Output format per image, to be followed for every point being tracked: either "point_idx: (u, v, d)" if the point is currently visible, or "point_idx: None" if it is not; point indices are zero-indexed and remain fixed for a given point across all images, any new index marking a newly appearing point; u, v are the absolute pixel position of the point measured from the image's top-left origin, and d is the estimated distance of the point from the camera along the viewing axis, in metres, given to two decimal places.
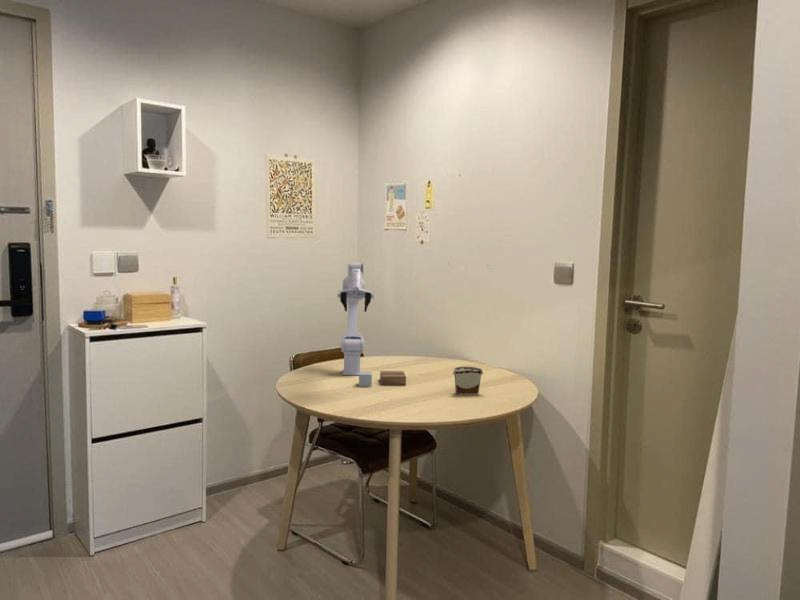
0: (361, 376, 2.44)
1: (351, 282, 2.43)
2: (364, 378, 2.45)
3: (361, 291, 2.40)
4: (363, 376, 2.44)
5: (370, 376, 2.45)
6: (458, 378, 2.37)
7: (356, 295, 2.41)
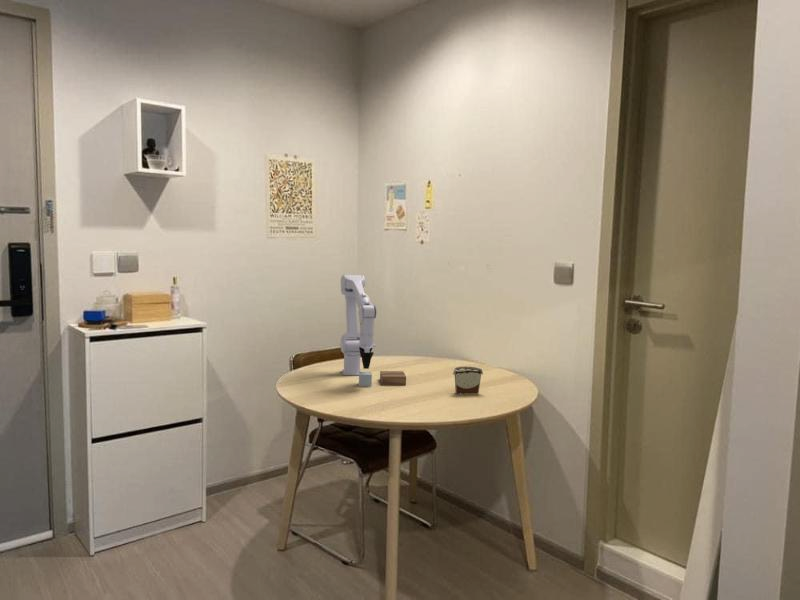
0: (361, 376, 2.44)
1: (372, 336, 2.44)
2: (364, 378, 2.45)
3: None
4: (363, 376, 2.45)
5: (370, 376, 2.45)
6: (458, 378, 2.37)
7: None
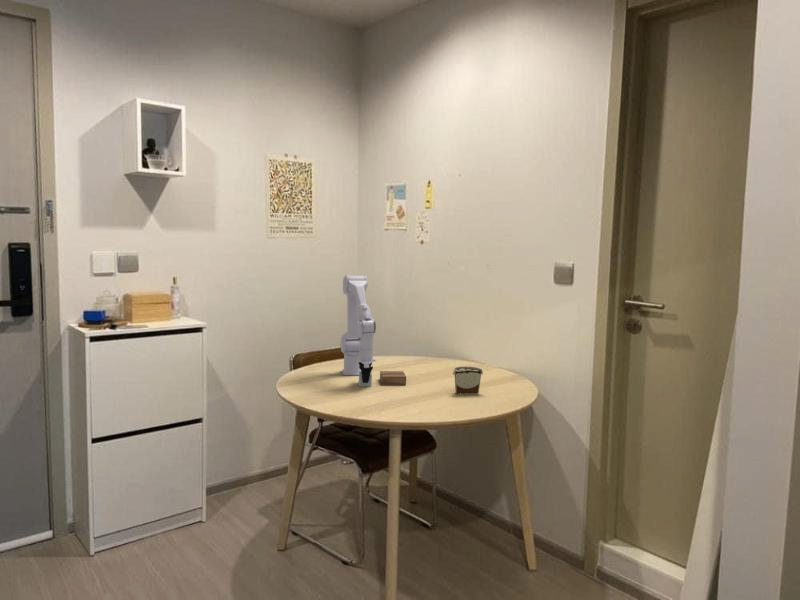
0: (361, 376, 2.44)
1: (371, 351, 2.44)
2: None
3: None
4: None
5: (370, 376, 2.45)
6: (458, 378, 2.37)
7: None
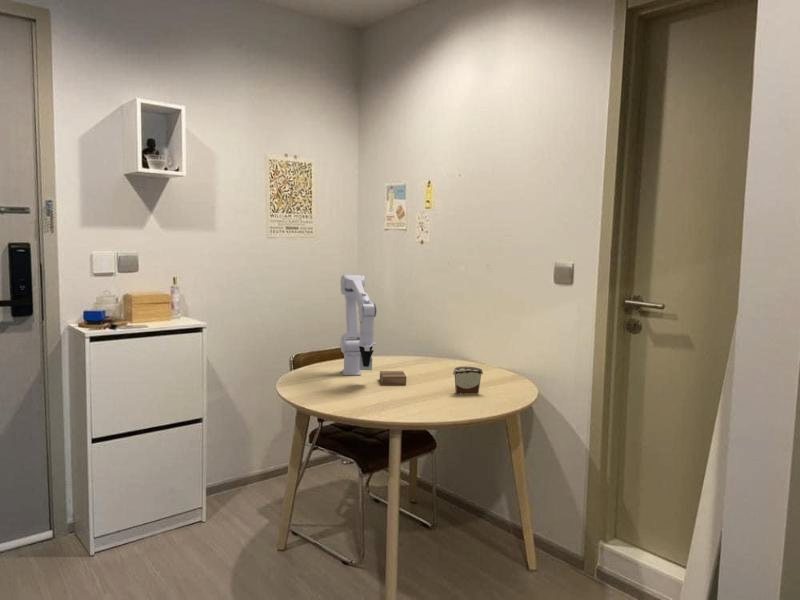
0: (361, 359, 2.44)
1: (372, 334, 2.44)
2: None
3: None
4: None
5: (371, 360, 2.44)
6: (458, 378, 2.37)
7: None
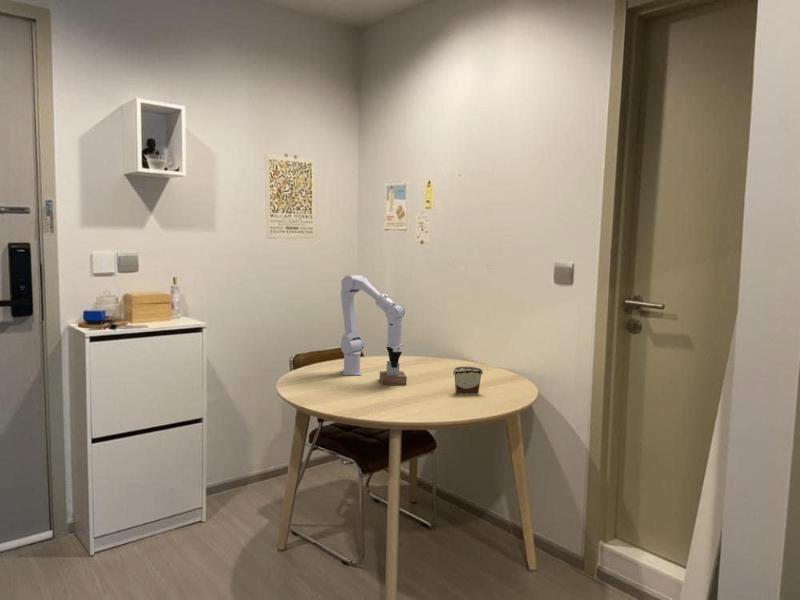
0: (389, 365, 2.50)
1: (400, 336, 2.50)
2: None
3: None
4: None
5: (398, 365, 2.50)
6: (458, 378, 2.37)
7: None
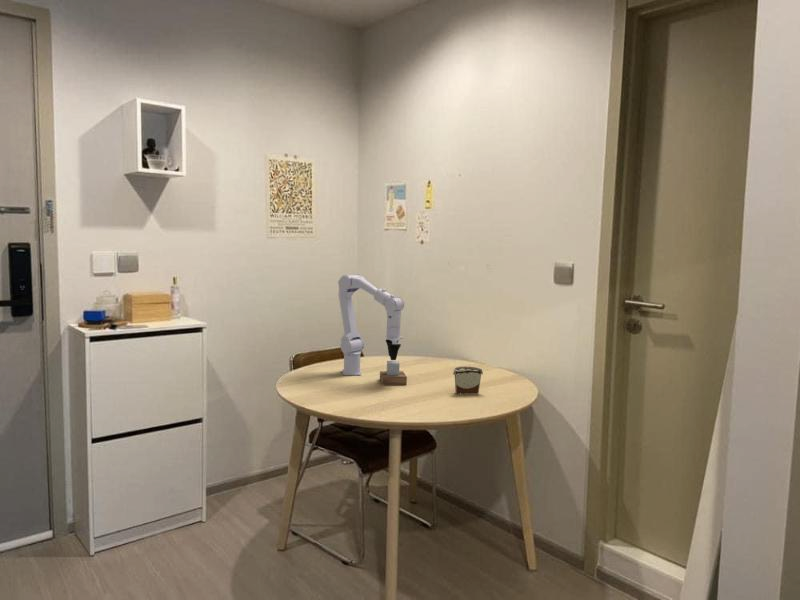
0: (389, 365, 2.50)
1: (399, 328, 2.50)
2: (392, 367, 2.51)
3: None
4: (391, 365, 2.51)
5: (398, 365, 2.51)
6: (458, 378, 2.37)
7: None
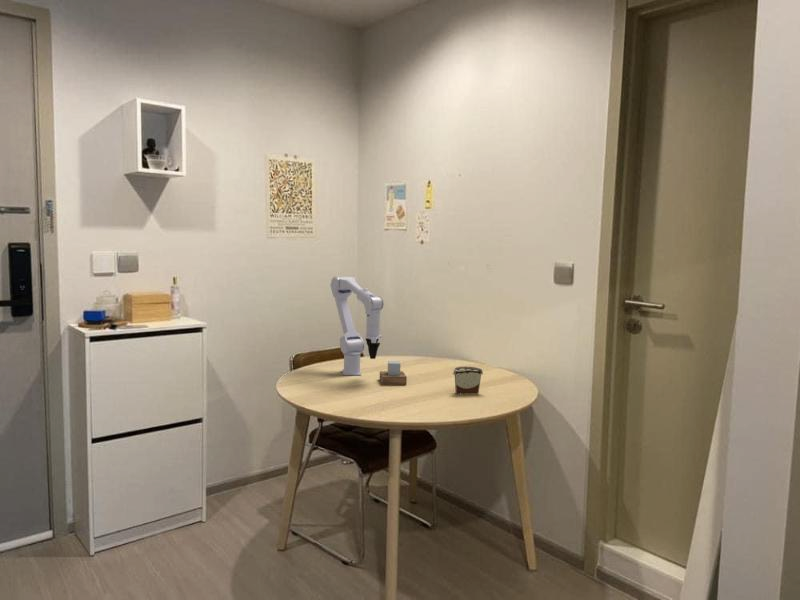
0: (390, 365, 2.50)
1: (378, 327, 2.51)
2: (393, 367, 2.51)
3: None
4: (392, 365, 2.50)
5: (399, 365, 2.51)
6: (458, 378, 2.37)
7: None
